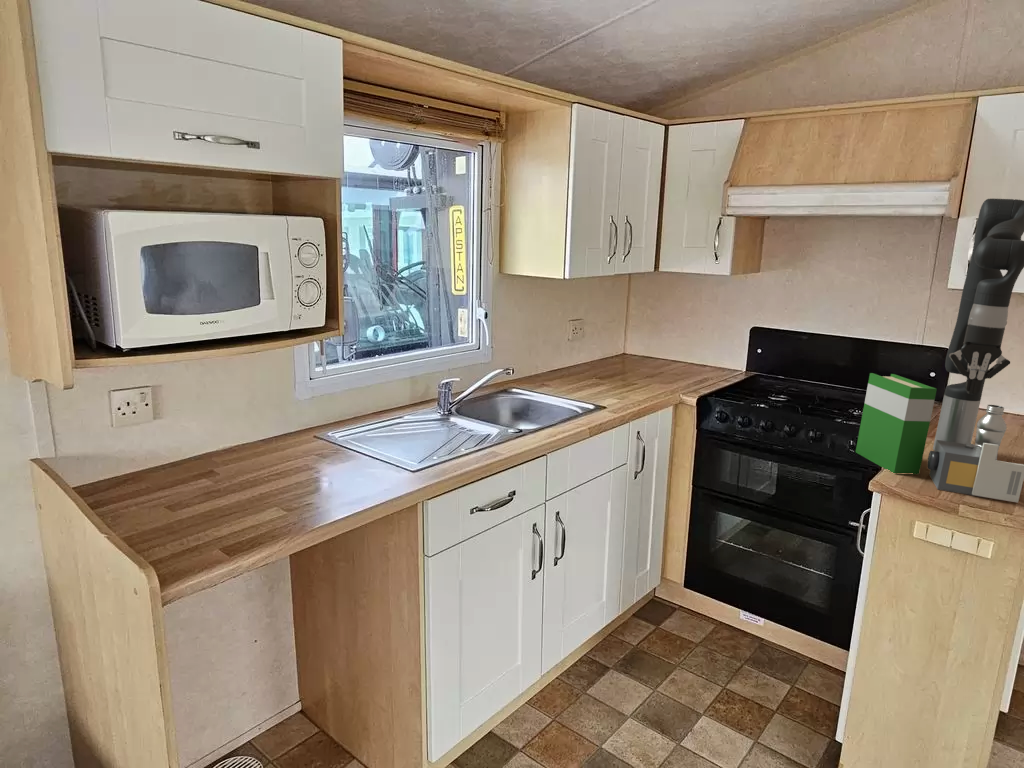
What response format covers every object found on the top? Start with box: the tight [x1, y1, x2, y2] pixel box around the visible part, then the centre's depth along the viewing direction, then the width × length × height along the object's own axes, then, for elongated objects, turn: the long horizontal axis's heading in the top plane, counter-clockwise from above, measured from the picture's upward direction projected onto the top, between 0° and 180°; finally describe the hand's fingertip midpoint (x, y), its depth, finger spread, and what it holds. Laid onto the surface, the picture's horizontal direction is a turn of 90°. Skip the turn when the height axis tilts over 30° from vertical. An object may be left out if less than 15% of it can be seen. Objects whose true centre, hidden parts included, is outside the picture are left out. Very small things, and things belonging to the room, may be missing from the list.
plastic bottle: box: [974, 404, 1008, 461], centre depth 185 cm, size 6×7×20 cm
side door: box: [971, 443, 1024, 503], centre depth 169 cm, size 1×10×14 cm, turn 68°
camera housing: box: [926, 440, 983, 498], centre depth 178 cm, size 12×12×11 cm
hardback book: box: [855, 372, 937, 475], centre depth 192 cm, size 18×7×24 cm, turn 6°
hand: (971, 393), depth 169 cm, fingers closed
